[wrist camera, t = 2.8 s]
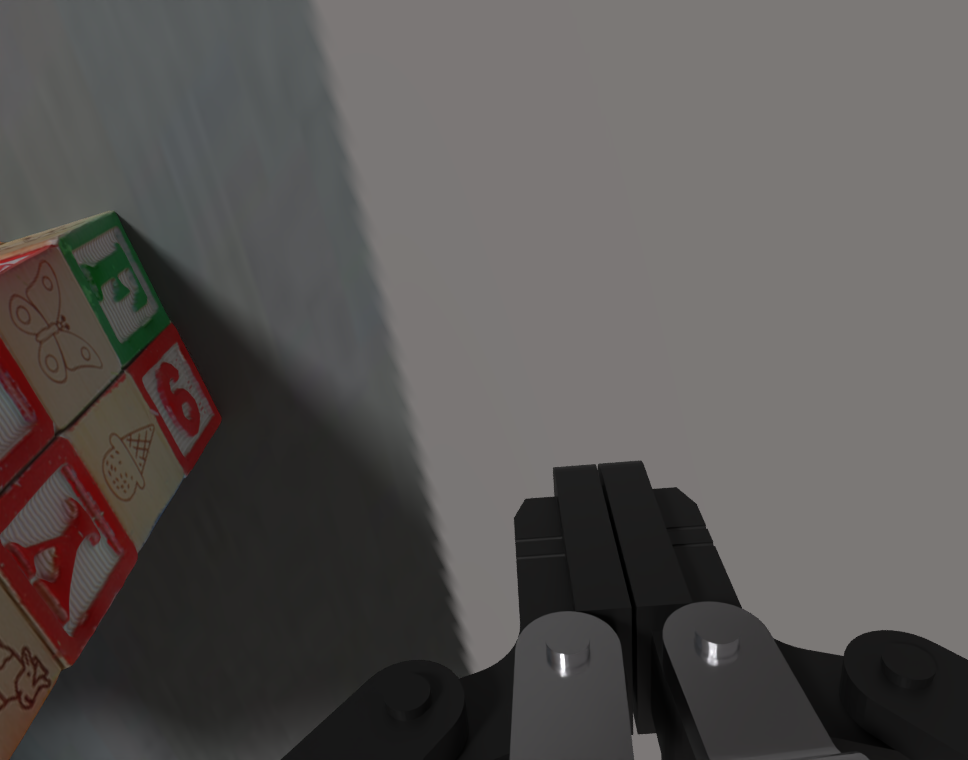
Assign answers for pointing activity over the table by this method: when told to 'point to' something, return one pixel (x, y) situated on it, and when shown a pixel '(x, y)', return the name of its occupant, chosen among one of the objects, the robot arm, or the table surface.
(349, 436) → the table surface
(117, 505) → the stack of blocks
